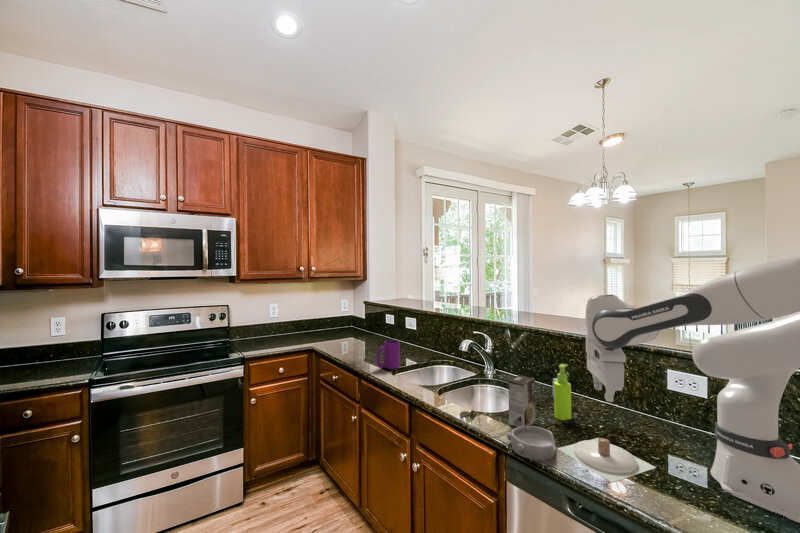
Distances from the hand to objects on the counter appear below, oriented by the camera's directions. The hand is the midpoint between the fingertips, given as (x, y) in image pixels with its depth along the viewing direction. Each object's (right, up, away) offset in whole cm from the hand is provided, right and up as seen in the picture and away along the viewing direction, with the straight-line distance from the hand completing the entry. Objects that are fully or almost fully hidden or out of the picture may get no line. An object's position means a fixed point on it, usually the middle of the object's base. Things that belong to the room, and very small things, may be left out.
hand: (603, 395), depth 99 cm
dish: (-19, -20, +5) cm, 28 cm away
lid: (0, -19, 0) cm, 19 cm away
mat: (0, -19, 0) cm, 19 cm away
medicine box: (+9, -20, +44) cm, 49 cm away
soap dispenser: (+2, -20, +28) cm, 35 cm away
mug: (-68, -21, +94) cm, 118 cm away
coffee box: (-16, -20, +24) cm, 35 cm away
